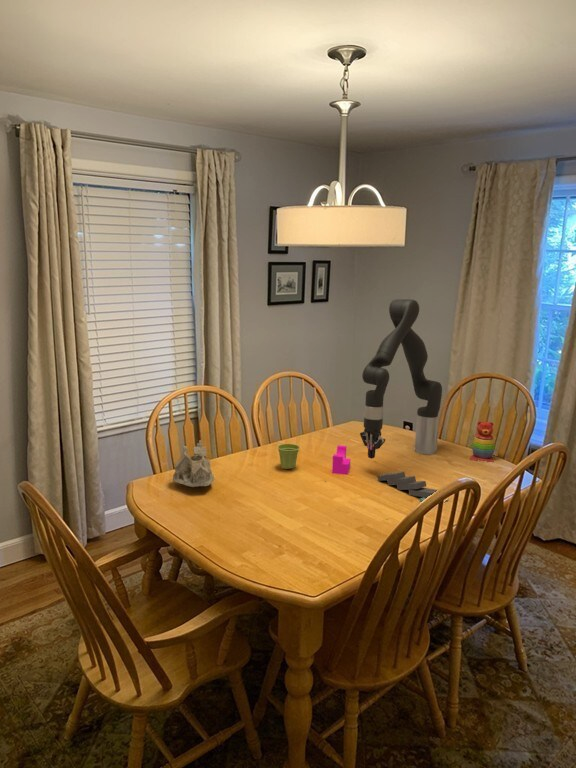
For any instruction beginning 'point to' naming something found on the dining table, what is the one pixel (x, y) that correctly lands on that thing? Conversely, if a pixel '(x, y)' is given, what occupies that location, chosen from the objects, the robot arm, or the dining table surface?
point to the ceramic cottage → (193, 468)
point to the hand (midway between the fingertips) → (371, 457)
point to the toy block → (340, 461)
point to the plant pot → (288, 455)
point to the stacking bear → (483, 443)
